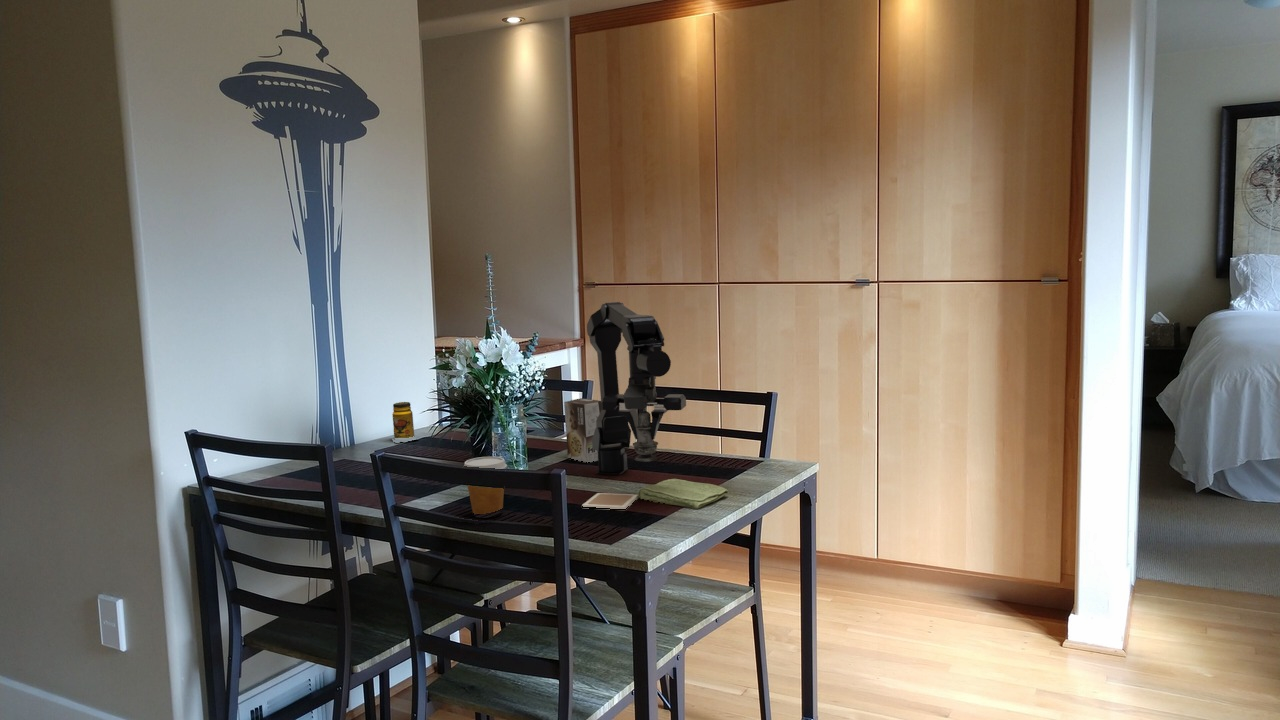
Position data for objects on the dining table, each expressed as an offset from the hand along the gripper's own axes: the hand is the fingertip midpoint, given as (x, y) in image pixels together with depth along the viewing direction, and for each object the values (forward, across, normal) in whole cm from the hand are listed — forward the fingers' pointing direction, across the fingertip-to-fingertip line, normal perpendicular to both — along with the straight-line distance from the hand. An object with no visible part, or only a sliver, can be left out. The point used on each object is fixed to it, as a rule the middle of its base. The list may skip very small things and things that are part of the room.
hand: (645, 439), depth 207 cm
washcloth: (+14, +9, -1) cm, 16 cm away
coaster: (+13, -6, -8) cm, 16 cm away
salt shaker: (+5, 0, 0) cm, 5 cm away
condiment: (+13, -93, +52) cm, 107 cm away
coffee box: (+13, -26, +33) cm, 44 cm away
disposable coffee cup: (+13, -31, -20) cm, 39 cm away
